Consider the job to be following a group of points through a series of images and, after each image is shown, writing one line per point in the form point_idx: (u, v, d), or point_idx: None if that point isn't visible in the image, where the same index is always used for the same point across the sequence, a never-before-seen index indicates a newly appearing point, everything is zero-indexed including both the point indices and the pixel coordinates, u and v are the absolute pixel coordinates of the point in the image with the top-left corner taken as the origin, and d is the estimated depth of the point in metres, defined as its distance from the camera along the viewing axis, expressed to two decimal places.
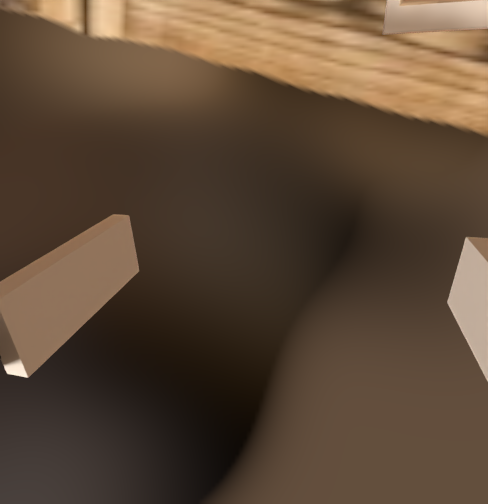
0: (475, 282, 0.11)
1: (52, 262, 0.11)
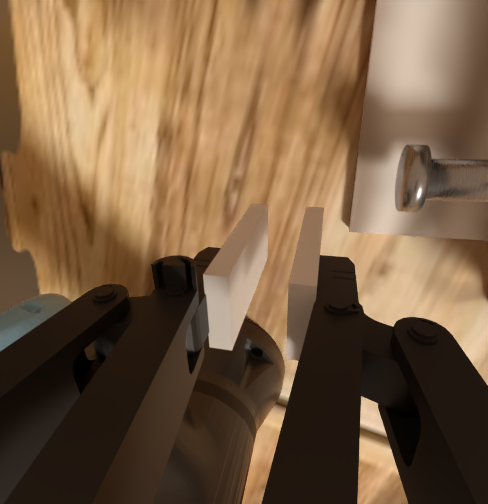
0: None
1: (242, 245, 0.11)
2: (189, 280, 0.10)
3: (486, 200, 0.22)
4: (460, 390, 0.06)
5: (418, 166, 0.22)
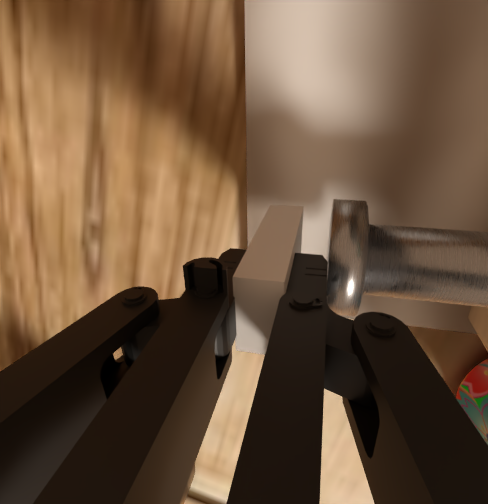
0: None
1: (267, 246, 0.11)
2: (220, 283, 0.09)
3: (471, 305, 0.12)
4: (414, 380, 0.06)
5: (344, 248, 0.12)
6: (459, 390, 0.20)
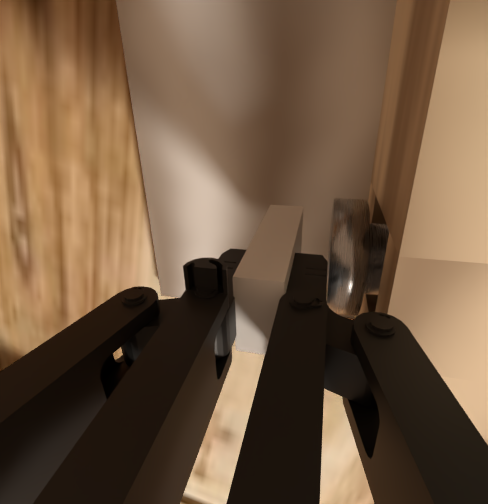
0: None
1: (267, 246, 0.11)
2: (220, 283, 0.09)
3: None
4: (414, 380, 0.06)
5: (345, 247, 0.11)
6: None
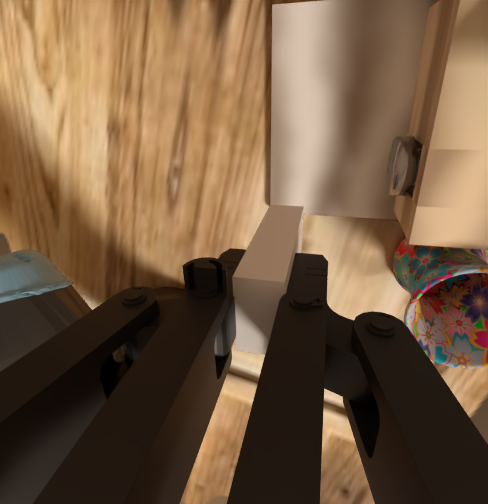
0: None
1: (267, 246, 0.11)
2: (220, 283, 0.09)
3: None
4: (414, 380, 0.06)
5: (405, 154, 0.25)
6: (393, 258, 0.35)
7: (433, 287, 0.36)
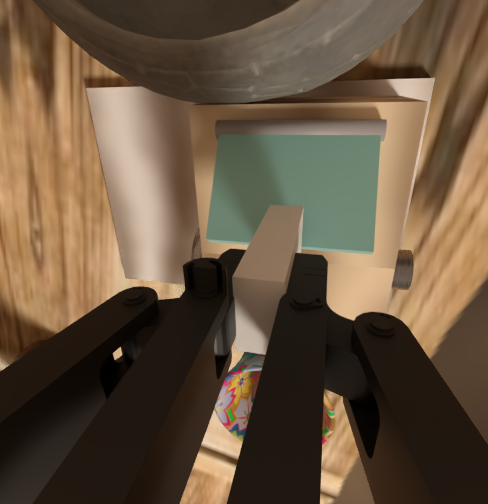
0: None
1: (267, 246, 0.11)
2: (219, 283, 0.09)
3: None
4: (414, 380, 0.06)
5: (197, 249, 0.25)
6: None
7: None
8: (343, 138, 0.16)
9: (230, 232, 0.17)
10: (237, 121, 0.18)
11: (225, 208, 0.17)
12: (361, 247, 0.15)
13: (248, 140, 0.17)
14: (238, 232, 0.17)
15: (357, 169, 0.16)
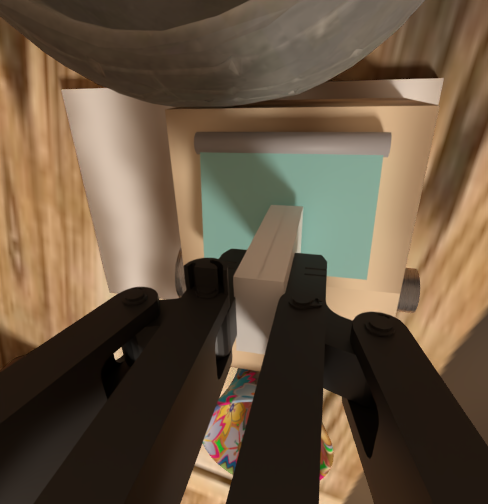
0: None
1: (268, 246, 0.11)
2: (220, 283, 0.09)
3: None
4: (413, 380, 0.06)
5: (181, 266, 0.22)
6: None
7: None
8: (340, 158, 0.14)
9: None
10: (218, 137, 0.15)
11: (219, 235, 0.17)
12: (355, 275, 0.16)
13: (233, 160, 0.15)
14: None
15: (354, 196, 0.15)
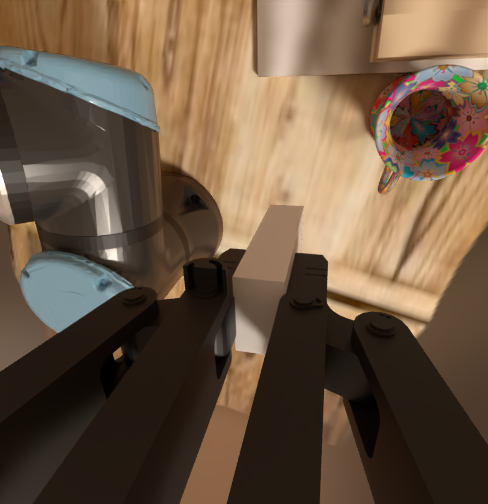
0: None
1: (267, 246, 0.11)
2: (220, 283, 0.09)
3: None
4: (414, 380, 0.06)
5: None
6: None
7: (408, 145, 0.39)
8: None
9: None
10: None
11: None
12: None
13: None
14: None
15: None
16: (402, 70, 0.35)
